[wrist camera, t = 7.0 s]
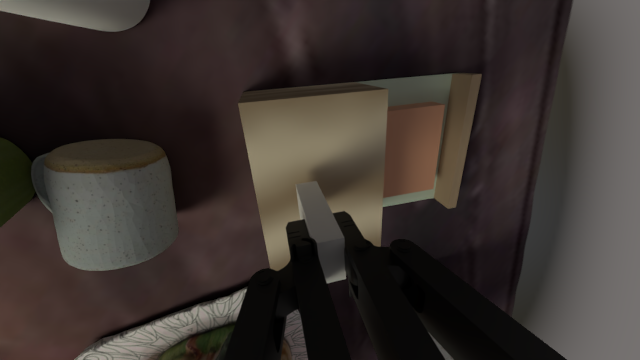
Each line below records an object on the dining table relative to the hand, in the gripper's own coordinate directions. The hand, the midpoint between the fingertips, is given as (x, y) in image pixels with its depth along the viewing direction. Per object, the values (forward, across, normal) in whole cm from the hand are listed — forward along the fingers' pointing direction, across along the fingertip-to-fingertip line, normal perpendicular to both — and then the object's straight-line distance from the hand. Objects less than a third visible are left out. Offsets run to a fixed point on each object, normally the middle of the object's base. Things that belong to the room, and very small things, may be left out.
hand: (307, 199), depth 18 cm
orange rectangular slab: (+6, +12, 0) cm, 13 cm away
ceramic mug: (+8, -16, 0) cm, 18 cm away
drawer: (+8, +12, 0) cm, 14 cm away
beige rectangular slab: (+8, +1, 0) cm, 8 cm away
